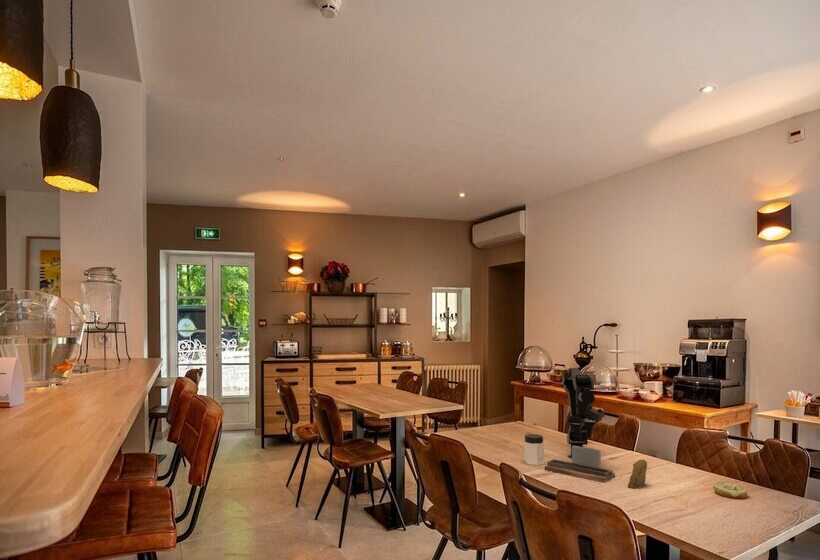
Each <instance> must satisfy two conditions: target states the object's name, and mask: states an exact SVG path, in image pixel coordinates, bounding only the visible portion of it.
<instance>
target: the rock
mask: <svg viewBox="0 0 820 560" xmlns="http://www.w3.org/2000/svg"><path fill="white" fill-rule="evenodd" d="M632 467H633V468H632V474H630V477H629V482H628V484H627V487H628V488H631V489H635V488H638V487H640V485H641V486H642V485H645V484H646V478H647V477H646V476H647V475H646V473H647V469H648V462H647V461H646V460H645V459H639V460H637V461H635V462H634V463H633V464H632Z"/></svg>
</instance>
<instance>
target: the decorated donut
mask: <svg viewBox="0 0 820 560" xmlns="http://www.w3.org/2000/svg"><path fill="white" fill-rule="evenodd" d="M712 488H713V490H714V492H715V493H716V494H717V495H719V496H721V497H724V498H729V499H730V498H732V499H736V500H737V499H741V500H742V499H746V498H747V496H748V494H747V493H748V489H747V488H746V487H744V486H743V485H741V484H737V483H734V482H730V481H717V482H715V483H712Z"/></svg>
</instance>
